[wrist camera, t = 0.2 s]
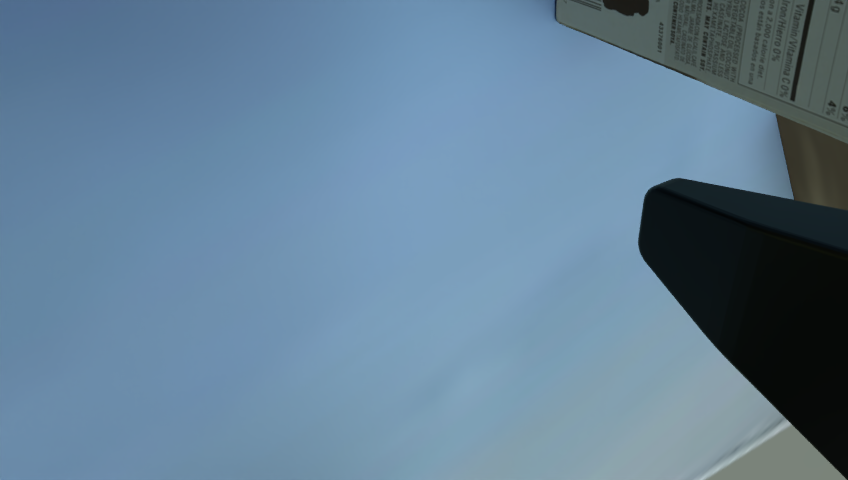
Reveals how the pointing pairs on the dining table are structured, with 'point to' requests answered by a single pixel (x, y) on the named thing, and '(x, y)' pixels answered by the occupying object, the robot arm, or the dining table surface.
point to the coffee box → (737, 48)
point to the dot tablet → (815, 164)
